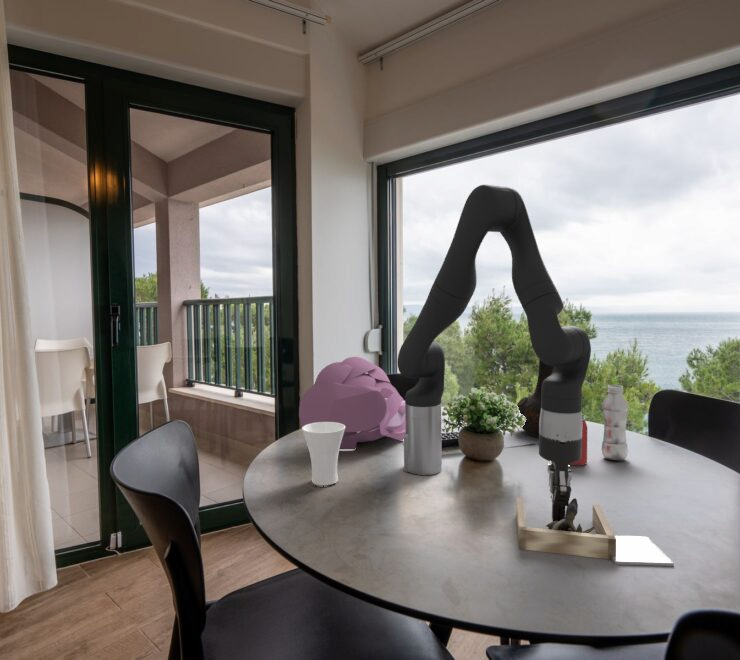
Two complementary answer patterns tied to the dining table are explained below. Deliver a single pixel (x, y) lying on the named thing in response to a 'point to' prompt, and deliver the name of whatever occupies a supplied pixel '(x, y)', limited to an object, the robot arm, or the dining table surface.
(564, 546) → the frame
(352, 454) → the dining table surface
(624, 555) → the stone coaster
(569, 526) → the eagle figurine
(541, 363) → the glass bottle
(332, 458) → the cup
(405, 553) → the dining table surface
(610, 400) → the plastic bottle
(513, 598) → the dining table surface
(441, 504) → the dining table surface
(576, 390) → the robot arm
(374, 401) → the purple rounded folded piece
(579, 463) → the beer can
